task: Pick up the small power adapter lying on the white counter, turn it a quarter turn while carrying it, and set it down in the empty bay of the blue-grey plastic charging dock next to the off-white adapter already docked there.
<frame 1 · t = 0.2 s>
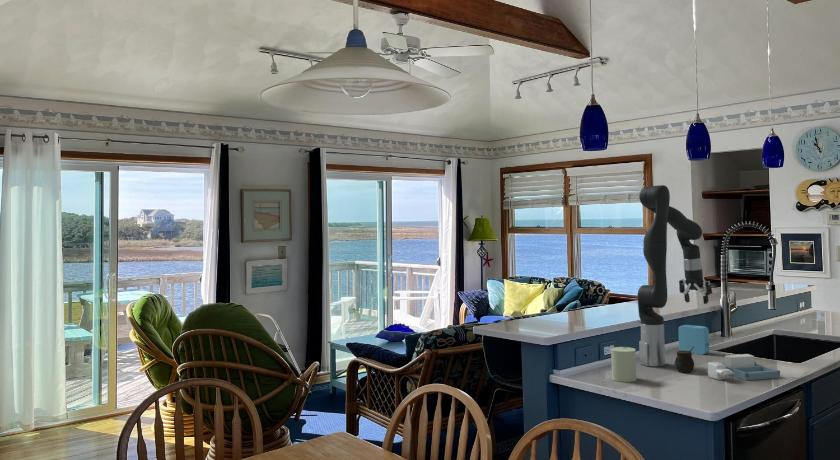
hand: (696, 302, 287), 22 cm above the countertop, tool pointing down, fingers open, 8 cm apart
dock: (747, 373, 245), on the countertop
mate gourd: (684, 372, 252), on the countertop
light blue square block: (694, 353, 286), on the countertop
can: (624, 379, 243), on the countertop
power adapter: (721, 380, 237), on the countertop
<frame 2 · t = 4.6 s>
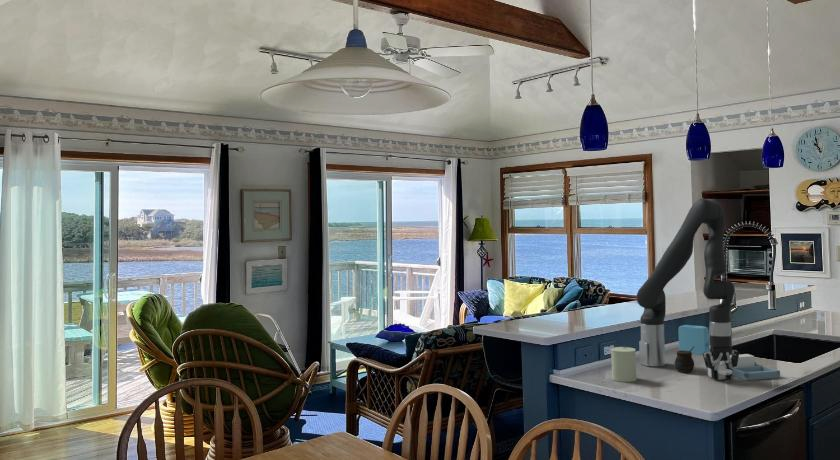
hand: (721, 378, 237), 0 cm above the countertop, tool pointing down, fingers closed on power adapter, 5 cm apart
power adapter: (721, 380, 237), on the countertop, touching gripper
everything else where it was.
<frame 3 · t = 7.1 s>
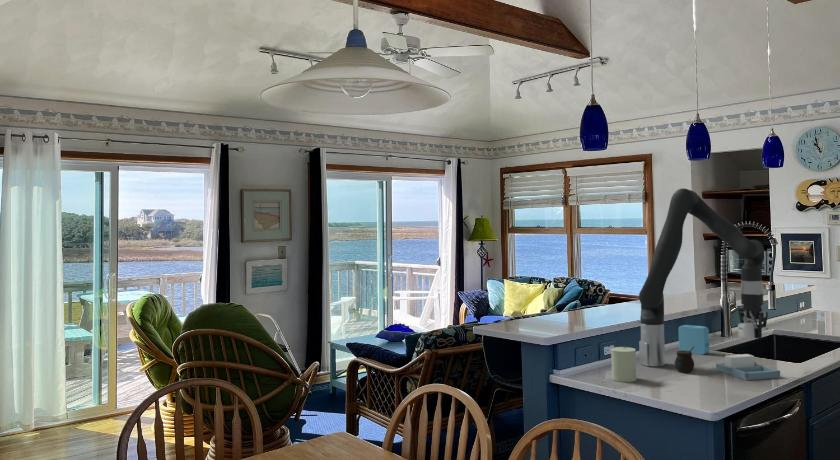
hand: (753, 336, 241), 15 cm above the countertop, tool pointing down, fingers closed on power adapter, 5 cm apart
power adapter: (753, 338, 241), point 14 cm above the countertop, touching gripper
everything else where it was.
when the fingers open (3 cm above the countertop, at t = 9.6 s): power adapter drops 2 cm, resting on dock.
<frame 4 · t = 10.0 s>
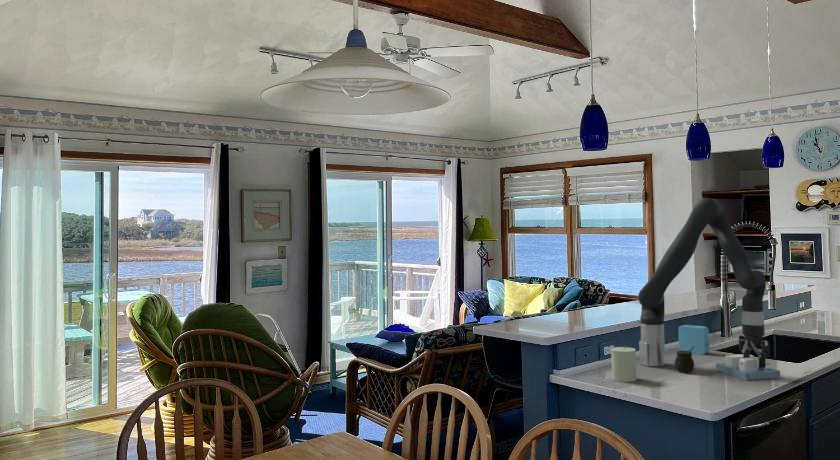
hand: (754, 365, 241), 4 cm above the countertop, tool pointing down, fingers open, 8 cm apart
power adapter: (754, 373, 241), point 1 cm above the countertop, touching dock
everything else where it was.
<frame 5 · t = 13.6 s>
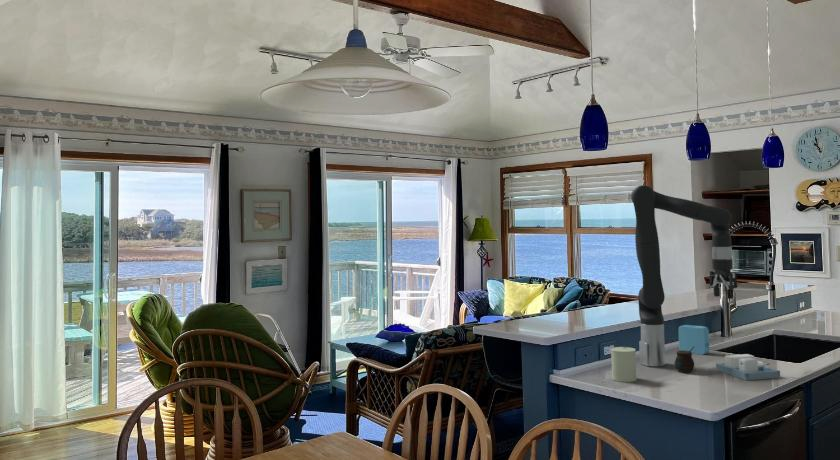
hand: (723, 297, 258), 28 cm above the countertop, tool pointing down, fingers open, 8 cm apart
nothing on the countertop moved.
at the end: power adapter inside the target area on the dock (0.2 cm from its centre), point 0.8 cm above the dock's base; the gripper is holding nothing; power adapter tilted 0° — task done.
